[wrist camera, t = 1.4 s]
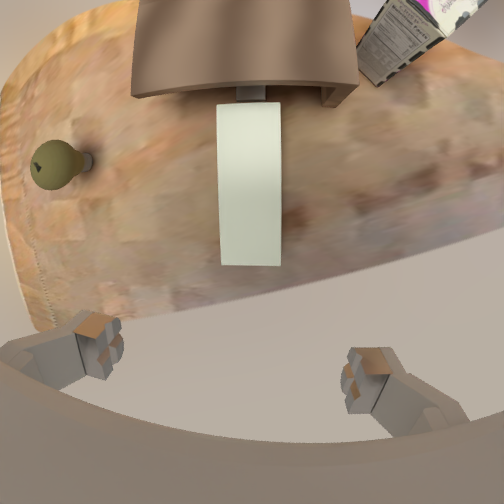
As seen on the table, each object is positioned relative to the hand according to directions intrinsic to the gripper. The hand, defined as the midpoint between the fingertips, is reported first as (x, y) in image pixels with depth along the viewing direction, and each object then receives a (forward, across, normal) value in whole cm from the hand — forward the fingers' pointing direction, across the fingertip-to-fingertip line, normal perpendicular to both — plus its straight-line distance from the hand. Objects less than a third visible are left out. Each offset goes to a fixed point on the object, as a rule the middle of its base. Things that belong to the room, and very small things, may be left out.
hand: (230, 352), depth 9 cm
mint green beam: (+24, +1, -4) cm, 24 cm away
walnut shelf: (+23, +3, -18) cm, 30 cm away
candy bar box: (+23, -13, -23) cm, 35 cm away
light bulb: (+24, +22, -6) cm, 34 cm away
